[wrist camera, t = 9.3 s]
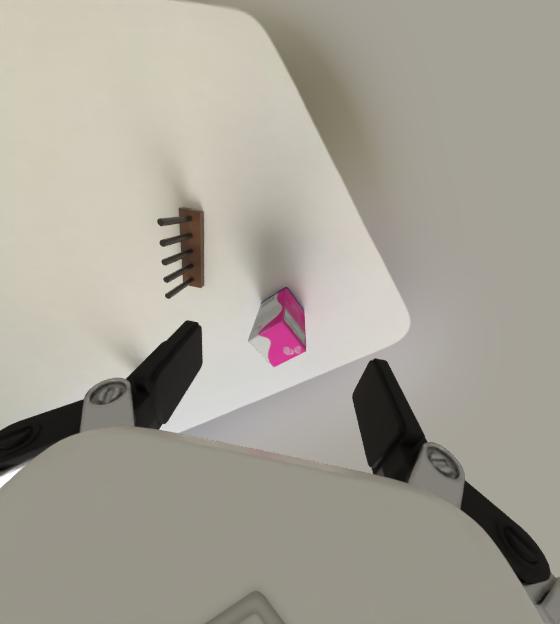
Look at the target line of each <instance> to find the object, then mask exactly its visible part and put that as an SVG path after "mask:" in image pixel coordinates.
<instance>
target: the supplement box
mask: <svg viewBox="0 0 560 624" xmlns="http://www.w3.org/2000/svg"><path fill="white" fill-rule="evenodd" d="M248 342H249V343H250V344H251V345H252V346H253V347H254V348H255V349H256V350H257V351H258V352H259V353H260V354H261V355H262V356H263V358H264V359H265V360H266V361H267V362H268V363H269V364H270V365H271V366H272V367H275V366H277V365H279V364H281V363H283V362H285V361H287V360H289V359H291V358H293V357H295V356H297V355H299V354H301V353H303V352H305V351H306V336H305V315H304V310H303V308H302V307H301V306H300V304H299V303H298V302H297V300H296V299H295V297H294V296H293V295H292V293H291V292H290V291H289V289H288V288H287V287H286V288H284V289H282V290H281V291H279V292H277V293H276V294H274V295H273V296H271V297H270V298H268V299H267V300H265V301H264V302H262V303H261V306H260V309H259V312H258V314H257V317H256V320H255V323H254V325H253V328H252V331H251V334H250V336H249V339H248Z"/></svg>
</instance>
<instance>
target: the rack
mask: <svg viewBox="0 0 560 624" xmlns="http://www.w3.org/2000/svg"><path fill="white" fill-rule="evenodd" d="M157 222H158V224H159V225H160V226H166V225H172V224H178V223H180V235H179V236H175V237H171V238H167V239H163V240H160V245H161V246H163V247H165V246H168V245H171V244H175V243H178V242H181V253H178V254H175V255H173V256H170V257H168V258H165V259H163V260H162V264H163V265H165V266H166V265H168V264H171V263H173V262H175V261H177V260H180V259H182V268H181V269H179V270H177V271H176V272H174V273H172V274H170V275H168V276H166V277H164V279H163V280H164V282H166V283H168V282H170V281H172V280H174V279H175V278H177V277H179V276H180V275H182V274H183V283H182V284H180V285H179V286H177V287H176V288H174V289H172V290H171V291H169V292H168V293H166V294H165V297H166V298H168V299H170V298H171V297H173V296H174V295H176V294H177V293H178V292H180V291H181V290H183V289H184V288H185V287H187V286H188V285H189V286H194V287H199V288H202V287H203V286H204V212H203V211H198V210H193V209H188V208H179V217H171V218H161V219H158V220H157Z"/></svg>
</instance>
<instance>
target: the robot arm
mask: <svg viewBox="0 0 560 624" xmlns="http://www.w3.org/2000/svg"><path fill="white" fill-rule="evenodd" d="M201 366H202V328H201V326H200V325H199V324H198V322H193V321H188V320H187V321H185V322H184V323H183V324H182V325H181V326H180V327H179V328H178V329H177V330H176V332H175V333H174V334H173V335H172V336H171V337H170V338H169V339H168V340H167V341H164V342H163V343H161V344H160V345H159V346H158V347H157V348H156V349H155V350H154V351H153V352H152V353H151V354H150V355H149V356H148V357H147V358H146V359H145V360H144V361H143V362H142V363H141V364H140V365H139V366H138V367H137V368H136V369H135V370H134V371H133V372H132V373H131V374H130V375H129V376H128V377H127V378H126V379H124V378H112V379H107V380H105V381H102V382H100V383H98V384H96V385H95V386H93V387H92V388H91V389H90V390H89V391H88V392H87V393H86V395H85V398H84V399H83V400H80V401H77V402H74V403H71V404H68V405H65V406H63V407H60V408H57V409H54V410H51V411H48V412H45V413H42V414H39V415H36V416H33V417H30V418H27V419H24V420H21V421H19V422H16V423H14V424H11V425H9V426H8V427H6V428H4V429H2V430H1V431H0V624H560V577H558V578H555V577H554V576H553V575H552V573H551V572H550V568H549V564H548V562H547V560H546V558H545V556H544V554H543V553H542V551H541V550H540V548H539V547H538V546H537V544H536V543H535V542H534V540H533V539H532V538H531V537H530V536H529V535H528V534H527V533H526V532H525V531H524V530H523V529H522V528H521V527H520V526H519V525H518V524H516V523H515V522H514V521H513V520H511V519H510V518H509V517H508V516H507V515H506V514H505V513H503V512H502V511H501V510H500V509H499V508H497V507H496V506H495V505H494V504H493V503H491V502H490V501H489V500H488V499H487V498H485V497H484V496H483V495H482V494H481V493H480V492H478V491H477V490H476V489H475V488H474V487H472V486H471V485H470V484H469V483H467V482H466V481H465V474H464V471H463V468H462V466H461V465H460V463H459V462H458V460H457V459H456V458H455V457H454V456H453V455H452V454H451V453H450V452H449V451H448V450H447V449H445V448H444V447H442V446H441V445H438V444H436V443H433V442H427V440H426V439H425V435H424V433H423V431H422V429H421V427H420V425H419V423H418V421H417V420H416V418H415V416H414V414H413V412H412V410H411V408H410V406H409V404H408V402H407V400H406V398H405V396H404V394H403V392H402V390H401V388H400V386H399V384H398V382H397V380H396V378H395V376H394V374H393V372H392V370H391V368H390V366H389V364H388V362H387V361H385V360H380V359H376V358H375V359H373V361H372V360H371V361H370V362H369V363H368V365H367V367H366V369H365V371H364V373H363V375H362V377H361V379H360V380H359V383H358V384H357V386H356V388H355V390H354V392H353V397H352V399H353V403H354V407H355V412H356V415H357V420H358V424H359V429H360V432H361V437H362V441H363V445H364V450H365V454H366V458H367V462H368V465H369V466H370V467H372V471H373V474H370V473H365V472H361V471H357V470H352V469H347V468H343V467H338V466H333V465H328V464H324V463H319V462H315V461H310V460H306V459H301V458H296V457H291V456H286V455H281V454H277V453H272V452H267V451H263V450H258V449H253V448H248V447H243V446H238V445H234V444H229V443H224V442H219V441H214V440H209V439H203V438H199V437H194V436H189V435H184V434H179V433H173V432H168V431H162V430H159V429H160V427H161V425H162V424H166V423H167V422H168V420H169V418H170V417H171V415H172V414H173V412H174V410H175V409H176V407H177V406H178V404H179V402H180V401H181V399H182V397H183V396H184V394H185V393H186V391H187V389H188V388H189V386H190V385H191V383H192V381H193V380H194V378H195V376H196V375H197V373H198V372H199V370H200V368H201Z"/></svg>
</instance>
